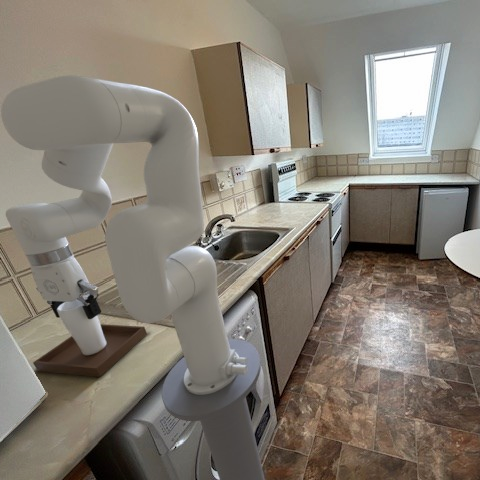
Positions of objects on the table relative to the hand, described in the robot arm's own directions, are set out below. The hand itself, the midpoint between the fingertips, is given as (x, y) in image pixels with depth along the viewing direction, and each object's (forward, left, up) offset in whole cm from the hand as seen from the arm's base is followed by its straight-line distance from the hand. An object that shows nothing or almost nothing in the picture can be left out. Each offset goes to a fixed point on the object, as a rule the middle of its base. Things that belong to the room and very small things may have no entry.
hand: (79, 315), depth 69 cm
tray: (0, 0, -12) cm, 12 cm away
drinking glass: (0, 0, -12) cm, 12 cm away
